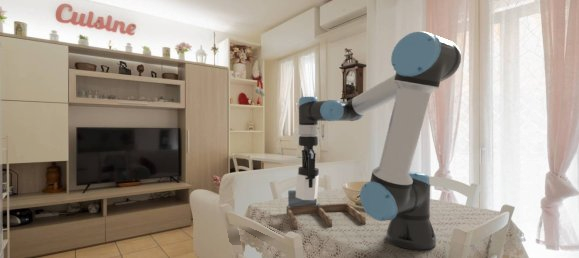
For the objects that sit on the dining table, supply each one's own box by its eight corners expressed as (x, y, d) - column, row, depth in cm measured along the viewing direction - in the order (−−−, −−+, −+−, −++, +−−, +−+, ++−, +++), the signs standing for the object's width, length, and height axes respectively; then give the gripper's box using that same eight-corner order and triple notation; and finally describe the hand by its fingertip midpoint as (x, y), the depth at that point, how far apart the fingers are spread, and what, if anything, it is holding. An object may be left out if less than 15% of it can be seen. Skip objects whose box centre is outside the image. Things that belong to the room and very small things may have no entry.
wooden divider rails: (365, 224, 113) (365, 198, 113) (294, 229, 108) (294, 202, 108) (346, 209, 133) (346, 187, 132) (286, 213, 128) (286, 190, 128)
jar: (321, 199, 116) (323, 169, 116) (306, 201, 111) (308, 170, 111) (306, 194, 123) (308, 166, 123) (291, 196, 118) (293, 166, 118)
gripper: (323, 136, 108) (323, 199, 109) (312, 134, 125) (312, 188, 126) (303, 137, 107) (303, 200, 108) (294, 134, 124) (295, 189, 125)
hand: (308, 193), depth 117 cm, fingers closed on jar, 4 cm apart
